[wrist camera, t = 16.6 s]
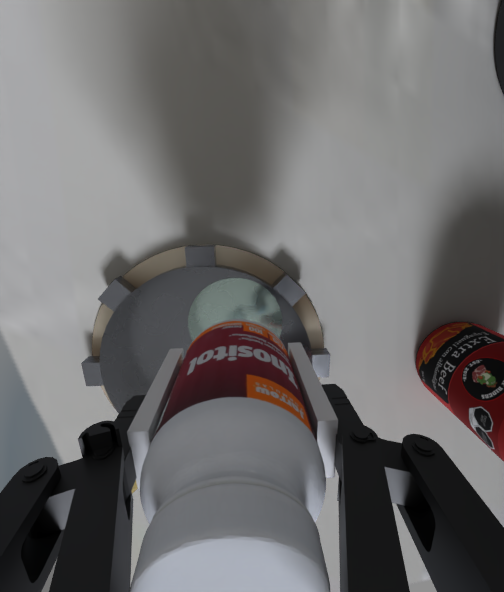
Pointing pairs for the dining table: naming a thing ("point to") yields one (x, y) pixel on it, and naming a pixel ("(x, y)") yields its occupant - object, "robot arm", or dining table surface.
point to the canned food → (467, 377)
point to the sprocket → (187, 320)
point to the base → (223, 257)
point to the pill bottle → (233, 473)
